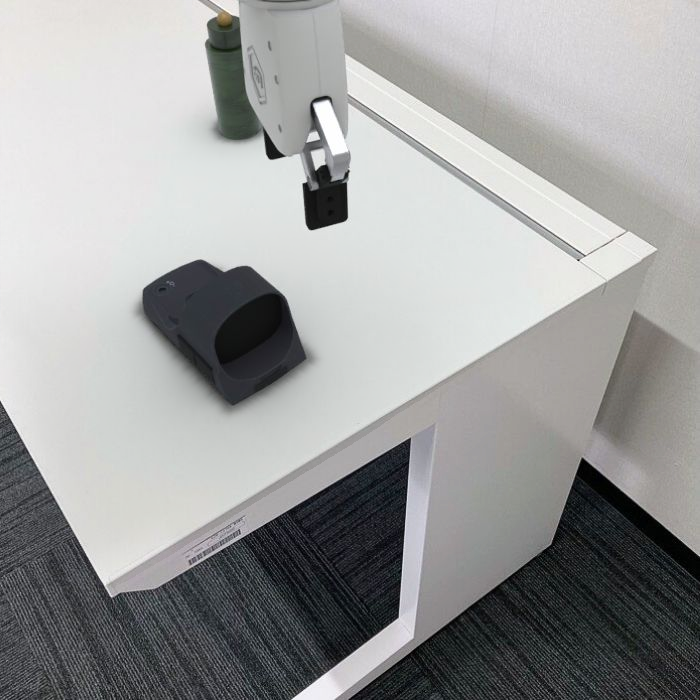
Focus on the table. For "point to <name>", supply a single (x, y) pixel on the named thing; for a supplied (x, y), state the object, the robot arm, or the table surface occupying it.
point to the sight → (226, 325)
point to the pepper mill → (229, 78)
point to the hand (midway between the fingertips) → (305, 187)
